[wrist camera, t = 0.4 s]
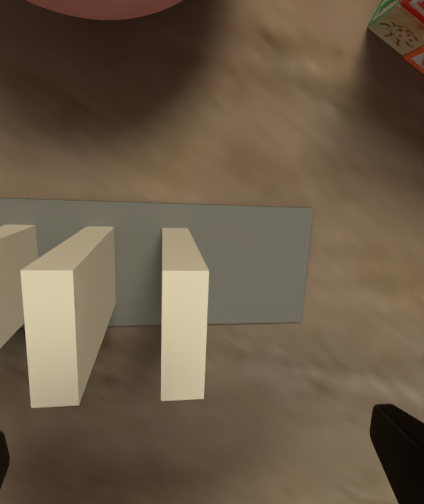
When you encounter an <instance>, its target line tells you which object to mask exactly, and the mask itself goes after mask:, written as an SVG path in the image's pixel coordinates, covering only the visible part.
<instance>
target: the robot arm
mask: <svg viewBox="0 0 424 504" xmlns="http://www.w3.org/2000/svg"><path fill="white" fill-rule="evenodd" d="M370 437H371V441H372V443H373V446H374V448H375V450H376V453H377V455H378V457H379V460H380V462H381V464H382V467H383V469H384V471H385V473H386V476H387V478H388V480H389V483H390V485H391V487H392V490H393V492H394V494H395V497H396V499H397V501H398V503H399V504H424V423H423V422H421V421H419V420H418V419H416V418H414V417H413V416H411V415H409V414H408V413H406V412H404V411H403V410H401V409H399V408H398V407H396V406H395V405H393V404H377V405H375V406H374V407H373V411H372V418H371V425H370ZM9 461H10V457H9V452H8V448H7V444H6V439H5V435H4V432H3V431H2V430H0V489H1V486H2V483H3V481H4V478H5V475H6V472H7V470H8V467H9Z"/></svg>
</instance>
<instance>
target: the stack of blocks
mask: <svg viewBox="0 0 424 504" xmlns="http://www.w3.org/2000/svg"><path fill="white" fill-rule="evenodd" d="M368 29H370V30H371V31H372V32H373V33H375V34H376V35H377V36H378V37H380V38H381V39H382V40H384V41H385V42H386V43H387V44H389V45H390V46H391V47H392V48H394V49H395V50H396V51H397V52H399V53H400V54H401V55H402V56H403V58H404V59H405V60H407V61H408V62H409V63H410V64H412V65H413V66H414V67H416V68H417V69H418V70H419V71H421V72H422V73H423V74H424V0H382V2H381V4H380V5H379V7H378V9H377V11H376V13H375V14H374V16H373V18H372V20H371V21H370V23H369V25H368Z"/></svg>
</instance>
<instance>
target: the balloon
mask: <svg viewBox="0 0 424 504" xmlns="http://www.w3.org/2000/svg"><path fill="white" fill-rule="evenodd" d="M26 1H28V2H30V3H33V4H35V5H37V6H40V7H43V8H45V9H48V10H51V11H55V12H58V13H61V14H65V15H69V16H74V17H79V18H85V19H93V20H124V19H132V18H138V17H143V16H147V15H150V14H154V13H157V12H159V11H162V10H165V9H167V8H169V7H172V6H174V5H176V4H177V3H179V2H181V1H183V0H26Z"/></svg>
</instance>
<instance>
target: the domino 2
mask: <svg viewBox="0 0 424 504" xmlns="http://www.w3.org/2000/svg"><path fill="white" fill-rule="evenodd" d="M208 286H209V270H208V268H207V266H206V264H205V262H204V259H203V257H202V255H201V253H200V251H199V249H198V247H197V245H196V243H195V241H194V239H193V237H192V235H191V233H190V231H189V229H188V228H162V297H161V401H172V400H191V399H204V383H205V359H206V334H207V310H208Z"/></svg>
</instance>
